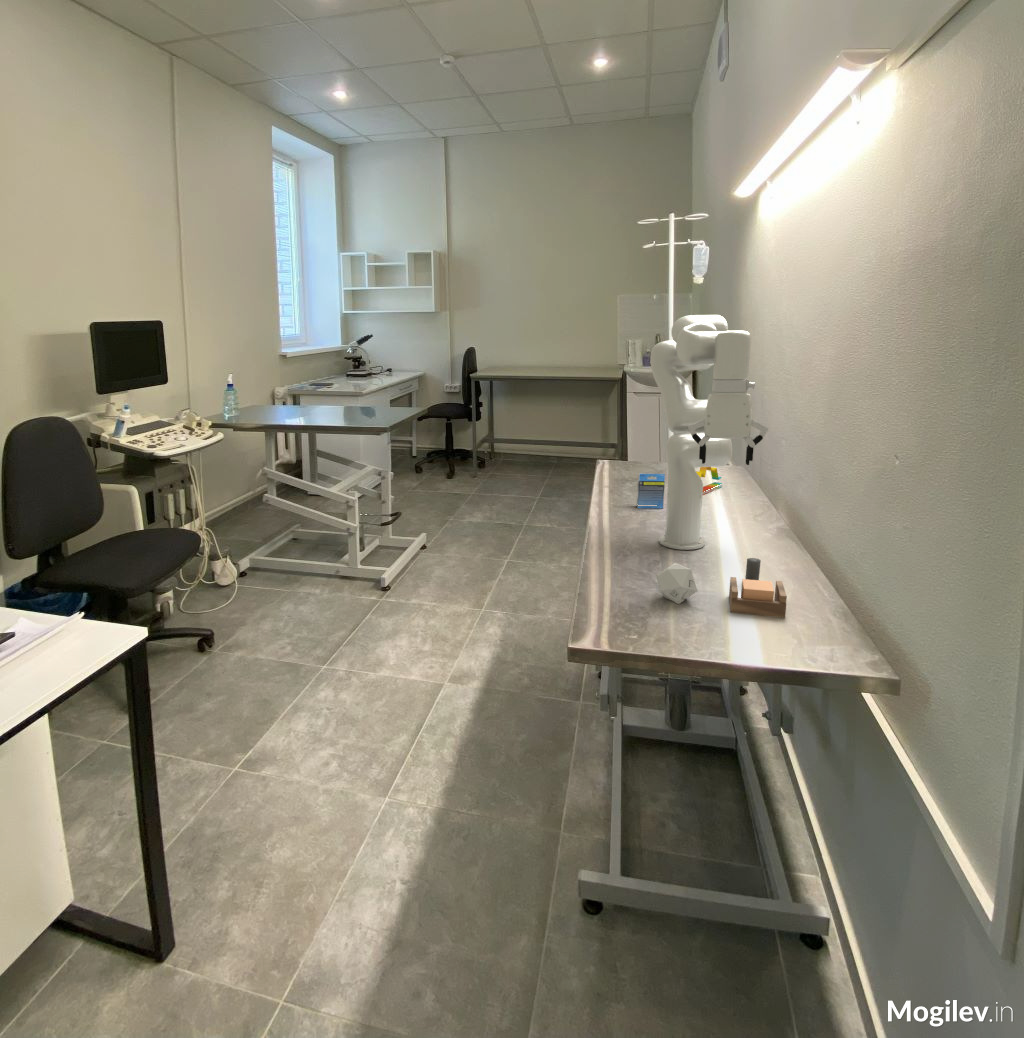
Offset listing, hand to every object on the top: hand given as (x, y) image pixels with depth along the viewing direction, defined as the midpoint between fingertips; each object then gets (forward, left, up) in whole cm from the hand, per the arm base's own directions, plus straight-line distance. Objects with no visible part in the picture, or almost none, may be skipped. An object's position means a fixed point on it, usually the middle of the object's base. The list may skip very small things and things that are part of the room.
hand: (725, 463), depth 151 cm
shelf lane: (+15, +8, -29) cm, 33 cm away
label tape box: (-67, -21, -29) cm, 76 cm away
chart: (-92, -4, -29) cm, 97 cm away
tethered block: (+9, +8, -28) cm, 31 cm away
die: (+15, -9, -29) cm, 34 cm away
